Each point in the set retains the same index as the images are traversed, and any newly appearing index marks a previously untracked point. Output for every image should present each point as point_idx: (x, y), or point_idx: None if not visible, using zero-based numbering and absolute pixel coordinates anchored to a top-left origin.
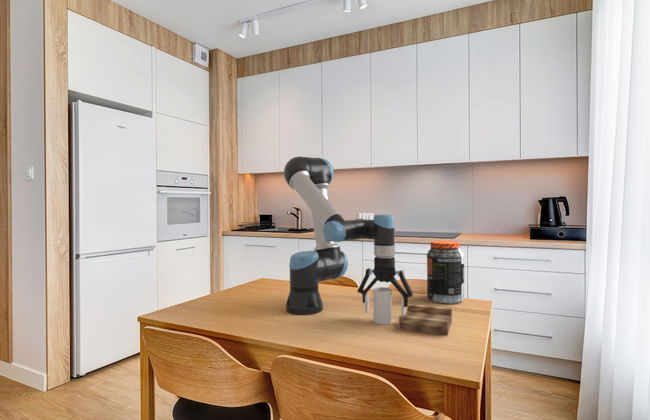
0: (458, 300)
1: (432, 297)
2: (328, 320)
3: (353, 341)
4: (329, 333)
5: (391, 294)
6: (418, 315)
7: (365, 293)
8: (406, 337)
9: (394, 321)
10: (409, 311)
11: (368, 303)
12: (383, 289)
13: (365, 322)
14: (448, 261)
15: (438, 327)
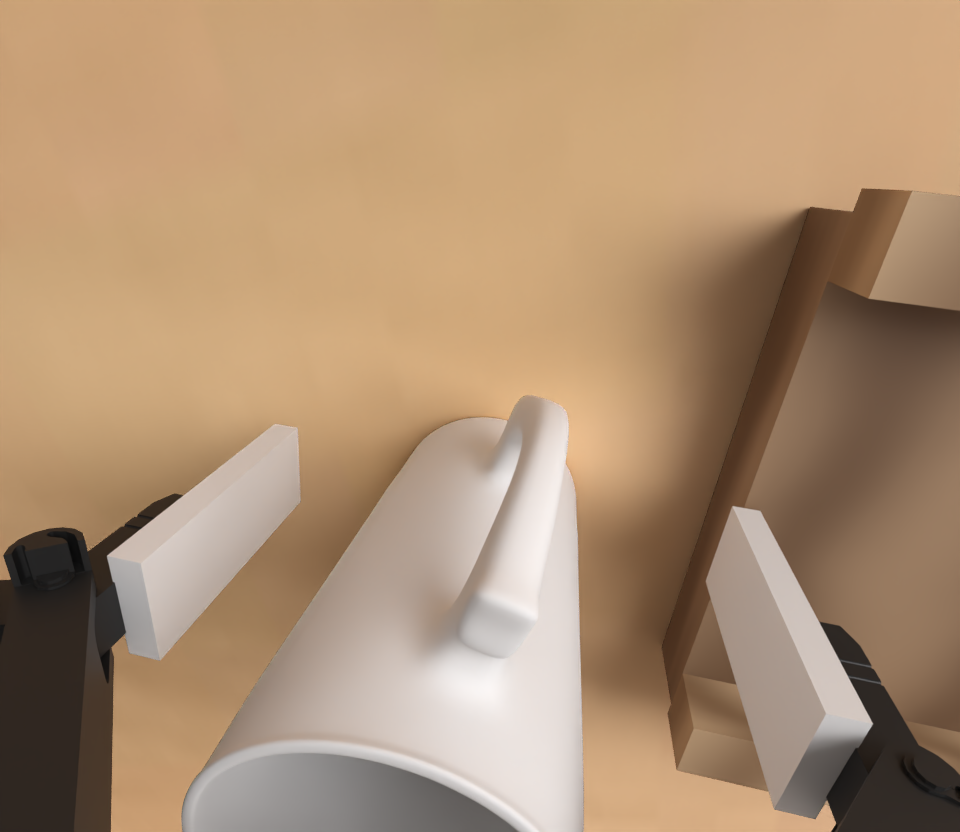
0: None
1: None
2: (54, 525)
3: None
4: (200, 737)
5: (583, 808)
6: (957, 495)
7: (110, 673)
8: (710, 781)
9: (612, 464)
10: (853, 333)
11: (243, 500)
12: (373, 710)
13: (342, 530)
14: None
15: None
